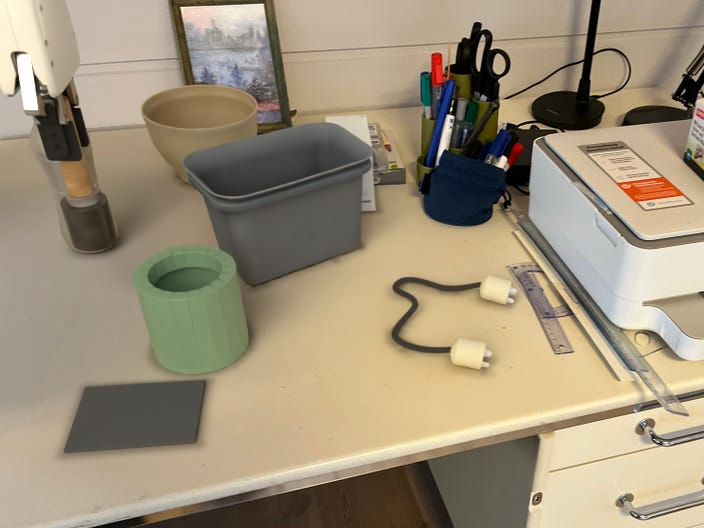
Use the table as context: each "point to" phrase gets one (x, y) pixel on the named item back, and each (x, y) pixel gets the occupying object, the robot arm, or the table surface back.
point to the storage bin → (283, 197)
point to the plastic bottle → (62, 179)
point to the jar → (192, 308)
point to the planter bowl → (198, 120)
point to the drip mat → (136, 416)
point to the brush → (85, 204)
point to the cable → (461, 349)
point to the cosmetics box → (361, 130)
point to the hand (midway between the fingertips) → (69, 151)
